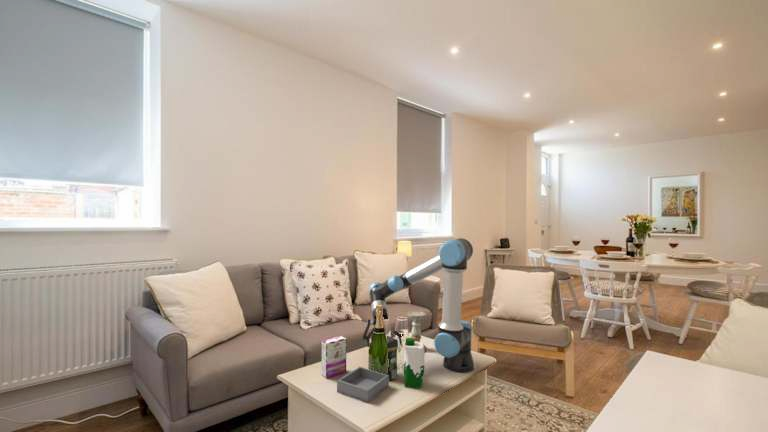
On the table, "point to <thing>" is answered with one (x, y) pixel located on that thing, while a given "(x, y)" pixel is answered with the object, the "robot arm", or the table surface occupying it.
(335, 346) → the candy bar box
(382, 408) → the table surface
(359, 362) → the table surface
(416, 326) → the candle holder
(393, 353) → the coffee jar
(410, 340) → the milk carton
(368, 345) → the robot arm
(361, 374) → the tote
